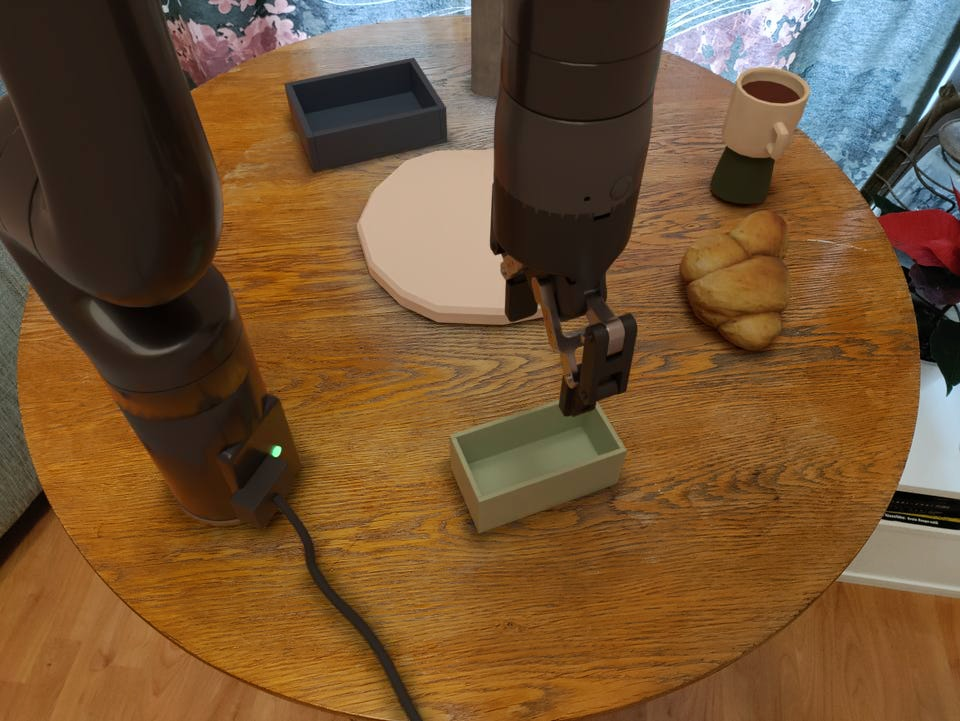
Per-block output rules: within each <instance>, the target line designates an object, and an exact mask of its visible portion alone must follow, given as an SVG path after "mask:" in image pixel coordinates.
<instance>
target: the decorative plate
mask: <svg viewBox="0 0 960 721" xmlns="http://www.w3.org/2000/svg"><path fill="white" fill-rule="evenodd" d="M493 172H494V149H456V150H453V149H452V150H451V149H449V150H435V151H432V152H431V151H430V152H427V153H425V154H421V155H419V156H416V157H415V156H414V157H412V158H409V159H406V160H405V161H403V162H402V164H400V166H398V167H397V168H396V169H395V170H393V172H391V173H390V174H389V175H388V176H387V177H385V179H384V180H383V181H382V182H381V183H379V184H378V185H377V186H376V187H374V189H373V190H372V191H371V193H370V195H369V197H368V200H367V201H366V203H365V206H364V208H363V210H362V212H361V215H360V217H359V219H358V221H357V223H356V226H355V227H356V232H357V237H358V240H359V243H360V247H361V250H362V252H363V257H364V259H365V262H366V265H367V269H368V272H369V275H370V277H372V278H373V279H374V280H375V281H376V282H377V283H378V284H379V285H380V286H381V287H382V288H383V289H384V290H385V291H386V293H388V294H389V295H390V296H391V297H392V298H393V299H394V300H396V302H397V303H398V304H399V305H400V306H402V307H404V308H406V309H408V310H409V311H412V312H415V313H417V314H419V315H421V316H424V317H426V318H428V319H430V320H432V321H434V322H436V323H445V324H449V323H450V324H471V325H474V324H475V325H496V326H497V325H500V326H505V325H509V324H515V323H519V322H525V321H530V320H535V319H540V318H543V314H542V310H541V306H540V305H539V304H538V310H537V312H536V314H535V315H533V316H531V317H528V318H525V319H521V320H518V321H515V322H510V321H509V320H508V318H507V316H506V315H505V285H506V280H505V279H504V278H503V276H502V274H501V272H500V269H501V268H500V264H501V262H503V257H502V255H501V254H499V255H494V254H493V252H492V250H491V248H490V225H491V201H492V184H493Z"/></svg>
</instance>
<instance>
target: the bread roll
mask: <svg viewBox="0 0 960 721" xmlns="http://www.w3.org/2000/svg"><path fill="white" fill-rule="evenodd" d="M789 245H790V229H789V226H788V223H787V221H786V220H785V219H784V217H782V215H781V216H780V215H779V214H778V213H776V212H775V211H771V210H766V209H761V210H757V211H754V212H752V213H750V214H749V215H747V216H746V217H744V218H743V219H742V220H741V221H740V222H739V223H738V224H736V225H735V226H734V227H733V228H732V229H731V231H730V232H729V233H727V232H716V233H715V234H712V235H711V234H710V235H704V236H701V237H700V238H698V239H697V240H695V241H694V242H693V243H691V244H690V245H689V246H688V247H686V250H685V252H684V254H683V256H682V258H681V260H680V262H679V267H678V268H679V274H678V275H679V277H680V279H681V281H682V282H683V283H684V285H685V286H686V287H685V289H686V296H687V299H688V303H689V305H690V307H691V308H692V310H693V311H692V312H693V314H694V315H695V316H696V318H698V319H699V320H701V321H702V322H703V323H705V324H706V325H707V326H710V327H713V328H716V330H717V331H718V332H719V333H720V335H721V336H722V337H723V338H724V339H725V340H726V341H728V342H730V343H732V345H735V346H736V347H739V348H741V349H744V350H748V351H760V350H763V349H765V348H767V347H768V346H770V345H771V344H772V343H773V342H774V341H775V340H776V339H777V338H778V336H779V334H780V333H781V331H782V317H781V313H783V312H785V311H786V309H788V306H789V304H790V297H791V292H792V290H791V289H792V276H791V273H790V270H789V268H788V266H787V264H786V263H785V261H784V259H785V258H786V256H787V252H788V250H789V247H790V246H789Z"/></svg>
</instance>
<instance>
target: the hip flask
mask: <svg viewBox="0 0 960 721" xmlns="http://www.w3.org/2000/svg"><path fill="white" fill-rule="evenodd" d="M501 14H502V0H470V49H471V50H470V74H471V75H470V76H471V78H470V80H471V81H470V82H471V83H470V85H471V86H470V87H471V88H470V89H471V92H472V93H473V94H475V95H477V96H482V97H488V98H496V99H497V98H498V92H499V86H500V68H501V22H502V21H501V20H502V16H501Z"/></svg>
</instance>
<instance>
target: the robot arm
mask: <svg viewBox="0 0 960 721" xmlns="http://www.w3.org/2000/svg"><path fill="white" fill-rule="evenodd" d="M670 9H671V0H502V14H501V16H502V20H501V21H502V22H501V68H500V86H499V92H498V98H497V97H496V104H495V111H494V122H493V150H494V172H493V184H492V201H491V225H490V248H491V250H492V252H493V254H494V255H499V254H501V255H502V257H503V262H501V264H500V268H501V269H500V272H501V274H502V276H503V278H504V279H505V280H506V285H505V315H506V316H507V318H508V320H509V321H510V322H515V321H518V320H521V319H525V318H528V317H531V316H533V315H535V314H536V312H537V310H538V304H539V305H540V306H541V310H542V314H543V317H542V319H543V321H544V322H543V323H544V328H545V331H546V336H547V341H548V344H549V345H548V346H549V347H550V348H551V349H553V350H555V351H558V353H559V358H560V362H561V367H562V372H563V374H562V378H561V386H560V391H559V392H560V393H559V399H558V400H559V408H560V410H561V412H562V414H563V415H564V416H565V417H568V416H572V417H575V416H578V415H581V414H584V413H587V412H589V411H592V410H594V409H595V408H596V402H599V401H602V400H605V399H608V398H611V397H614V396H617V395H618V396H619V395H621V394H624V393H626V392H627V390H628V385H629V380H630V373H631V368H632V362H633V359H634V352H635V347H636V342H637V337H638V331H639V330H638V323H637V321H636V318H635V317H634V315H633V314H632V313H630V312H627V313H624V314H621V315H618V316H616V314H615V313H614V312H613V310H612V309H611V308H610V306H609V305H608V303H607V300H608V286H607V272H608V271H609V269H610V267H611V266H612V265H613V264H614V262H615V261H616V260H617V259H618V258H619V257H620V255H621V254H623V252H624V251H625V249H626V248H627V246H628V244H629V241H630V239H631V236H632V231H633V227H634V226H633V225H634V221H635V216H636V211H637V206H638V201H639V196H640V191H641V188H642V182H643V178H644V172H645V167H646V163H647V157H648V152H649V148H650V143H651V135H652V129H653V122H654V120H653V118H654V95H655V89H656V84H657V78H658V73H659V68H660V63H661V59H662V53H663V48H664V44H665V38H666V33H667V27H668V21H669V14H670ZM0 78H1V81H2V82H3V85H4V87H5V90H6V92H7V93H6V94H5V95H3V96H2V97H1V98H0V242H1V243H2V245H3V246H4V248H5V249H6V250H7V252H8V254H9V255H10V256H11V259H12V260H13V261H14V263H15V264H16V265H17V267H18V268H19V270H20V271H21V273H22V275H23V276H24V277H25V279H26V280H27V282H28V283H29V284H30V286H31V287H32V289H33V290H34V292H35V294H36V295H37V296H38V298H39V299H40V301H41V302H42V304H43V305H44V307H45V308H46V309H47V311H48V312H49V314H50V315H51V317H52V318H53V319H54V320H55V321H56V323H57V324H58V325H59V326H60V327H61V329H62V330H63V332H64V333H66V334H67V336H68V337H69V338H70V339H71V340H72V341H73V342H74V343H75V344H76V345H77V347H79V349H80V350H81V351H82V352H83V353H84V354H85V356H86V357H87V359H88V360H89V361H90V363H91V365H92V366H93V368H94V369H95V371H96V372H97V373H98V376H99V377H100V378H101V380H102V382H103V383H104V385H105V386H106V388H107V390H108V391H109V393H110V395H111V396H112V398H113V400H114V401H115V403H116V405H117V406H118V408H119V409H120V411H121V413H122V415H123V416H124V418H125V419H126V420H127V422H128V424H129V425H130V427H131V429H132V431H133V432H134V433H135V435H136V437H137V438H138V440H139V441H140V443H141V445H142V446H143V448H144V450H145V451H146V452H147V455H148V457H150V459H151V461H152V462H153V464H154V466H155V467H156V469H157V471H158V472H159V474H160V476H161V477H162V478H163V480H164V482H165V483H166V484H167V486H168V488H169V489H170V490H171V492H172V496H173V498H174V499H175V501H176V503H177V505H178V507H179V508H180V510H182V511H183V513H184V514H185V515H186V516H187V517H189V518H190V519H192V520H193V521H195V522H197V523H200V524H202V525H205V526H209V527H217V528H218V527H219V528H224V527H225V528H227V527H228V528H229V527H235V526H240V525H243V524H247V525H249V526H251V527H253V528H255V529H258V530H260V531H264V529H266V527H267V525H269V524H268V523H269V522H270V521H271V520H272V518H273V516H274V515H275V513H276V512H277V511H278V510H279V511H280V512H281V513H282V515H283V516H284V517H285V519H286V520H287V521H288V522H289V523H290V524H291V526H292V527H293V529H294V530H295V532H296V533H297V535H298V537H299V539H300V540H301V543H302V546H303V551H304V552H303V553H304V560H305V565H306V568H307V570H308V572H309V574H310V575H311V577H312V580H313V581H314V582H315V584H316V585H317V588H318V589H319V590H320V592H321V593H322V594H323V595H324V596H325V597H326V600H328V602H329V603H331V605H332V606H334V607H335V608H336V610H337V611H338V612H339V613H340V614H342V616H344V618H346V619H347V620H348V621H349V622H350V624H352V625H353V626H354V627H355V629H356V630H357V631H358V632H359V634H360V635H361V636H362V637H363V638H364V639H365V641H366V642H367V644H368V645H369V646H370V648H371V650H372V651H373V652H374V654H375V656H376V657H377V659H378V661H379V663H380V664H381V666H382V668H383V670H384V672H385V674H386V676H387V678H388V680H389V682H390V684H391V686H392V688H393V690H394V692H395V695H396V696H397V698H398V700H399V702H400V704H401V707H402V709H403V711H404V712H405V714H406V716H407V718H408V720H409V721H424V720H423V718H422V717H421V715H420V713H419V711H418V710H417V708H416V705H415V704H414V702H413V700H412V697H411V696H410V694H409V692H408V690H407V688H406V686H405V684H404V683H403V682H404V681H403V680H402V678H401V676H400V674H399V672H398V670H397V668H396V667H395V664H394V662H393V661H392V659H391V657H390V655H389V654H388V652H387V650H386V649H385V647H384V645H383V644H382V642H381V640H380V639H379V638H378V637H377V635H376V633H375V632H374V631H373V630H372V628H371V627H370V626H369V625H368V624H367V622H366V621H365V620H364V619H363V618H362V617H361V615H359V613H357V612H356V610H354V609H353V608H352V607H351V605H349V604H348V603H347V602H346V601H344V599H343V598H341V596H339V594H338V593H337V592H336V591H335V590H334V589H333V587H332V586H331V585H330V583H329V582H328V581H327V580H326V578H325V576H324V575H323V573H322V572H321V570H320V568H319V565H318V563H317V560H316V552H315V550H316V549H315V545H314V541H313V539H312V536H311V535H310V534H311V533H310V532H309V530H308V529H307V527H306V526H305V524H304V522H303V521H302V519H301V518H300V517H299V515H298V514H297V513H296V512H295V511H294V510H293V508H292V507H291V506H290V505H289V504H288V502H287V501H286V500H285V499H286V498H287V496H288V495H289V494H290V492H291V491H292V489H293V488H294V487H295V485H296V480H295V478H296V477H297V475H298V473H299V472H300V471H301V469H302V468H303V463H302V460H301V457H300V454H299V451H298V448H297V445H296V442H295V440H294V437H293V434H292V431H291V427H290V424H289V420H288V419H287V415H286V413H285V412H286V411H285V410H284V406H283V404H282V401H281V399H280V397H279V396H277V395H274V394H272V393H270V392H268V389H267V387H266V383H265V381H264V377H263V375H262V372H261V369H260V366H259V364H258V361H257V358H256V356H255V352H254V349H253V346H252V345H251V340H250V338H249V335H248V332H247V329H246V326H245V324H244V322H243V318H242V315H241V311H240V309H239V306H238V303H237V299H236V297H235V295H234V293H233V292H234V291H233V290H232V288H231V286H230V284H229V282H228V281H227V279H226V278H225V275H223V274H222V272H221V271H220V270H219V269H218V268H217V267H216V265H215V264H214V263H213V261H214V258H215V256H216V254H217V250H218V249H219V246H220V241H221V236H222V233H223V227H224V210H225V209H224V208H225V206H224V195H223V188H222V184H221V179H220V175H219V170H218V167H217V165H216V161H215V159H214V155H213V152H212V149H211V147H210V143H209V141H208V138H207V134H206V132H205V129H204V127H203V123H202V120H201V118H200V115H199V112H198V109H197V106H196V104H195V101H194V98H193V95H192V92H191V88H190V87H189V83H188V81H187V77H186V75H185V71H184V69H183V67H182V63H181V60H180V57H179V55H178V53H177V49H176V46H175V43H174V39H173V37H172V34H171V30H170V27H169V25H168V21H167V17H166V14H165V11H164V7H163V4H162V1H161V0H0ZM584 316H585V317H586V318H587V319H586V320H587V321H588V324H587V325H585V326H582V327H579V328H576V329H573V330H570V331H567V332H563V329H562V324H561V323H565V322H568V321H571V320H575V319H578V318H581V317H584ZM515 323H516V322H515ZM581 347H582V354H581V355H582V357H581V362H580V363H577V359H576V354H575V353H576V350H577V349H579V348H581Z"/></svg>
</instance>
